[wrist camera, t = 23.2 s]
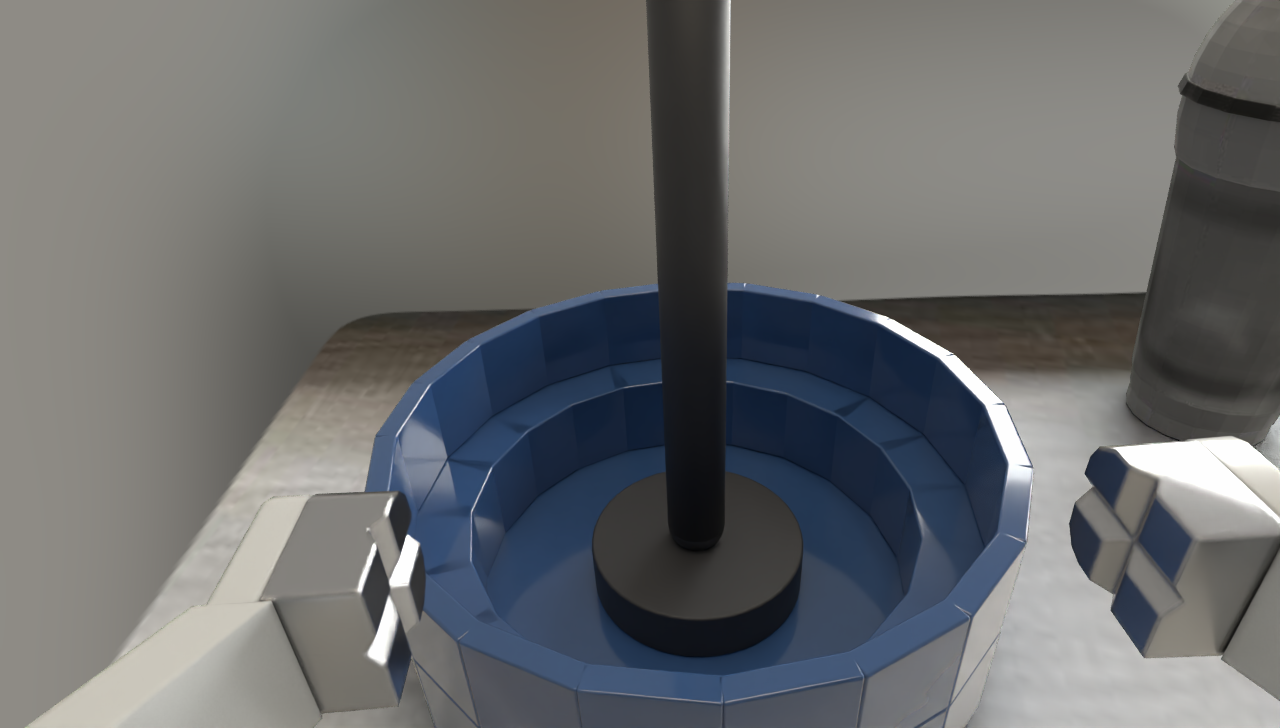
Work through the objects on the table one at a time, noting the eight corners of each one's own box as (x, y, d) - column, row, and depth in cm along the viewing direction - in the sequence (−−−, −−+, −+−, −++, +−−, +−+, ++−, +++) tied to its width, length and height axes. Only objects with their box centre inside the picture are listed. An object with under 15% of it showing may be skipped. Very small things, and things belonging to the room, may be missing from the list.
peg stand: (576, 647, 21) (462, -156, 11) (614, 497, 26) (557, -148, 16) (804, 667, 20) (886, -184, 11) (797, 508, 25) (849, -167, 16)
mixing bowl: (307, 828, 18) (219, 657, 15) (507, 413, 31) (484, 277, 28) (1067, 924, 15) (1158, 746, 12) (927, 430, 29) (953, 285, 26)
